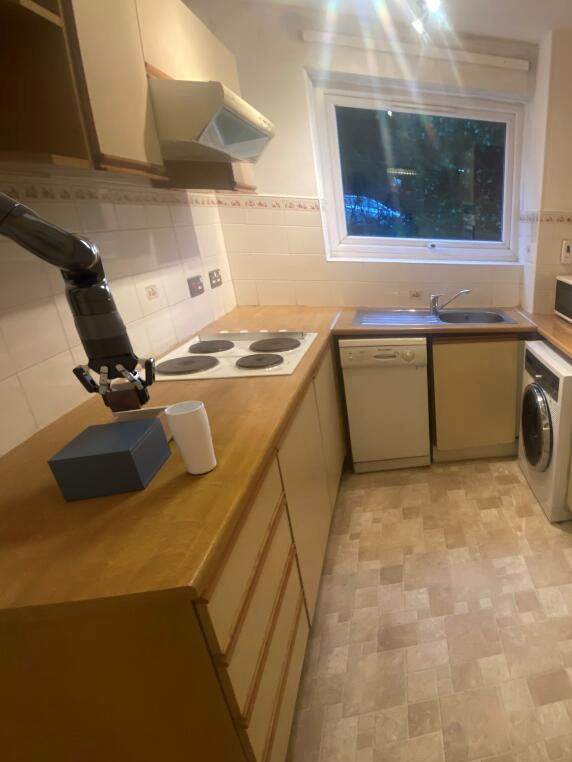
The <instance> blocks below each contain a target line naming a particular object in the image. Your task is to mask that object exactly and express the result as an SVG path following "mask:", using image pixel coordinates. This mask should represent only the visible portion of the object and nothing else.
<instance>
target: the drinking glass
mask: <svg viewBox="0 0 572 762" xmlns="http://www.w3.org/2000/svg"><path fill="white" fill-rule="evenodd" d="M171 405H172V406H170V407H168V408H166V409H165V411H164V413H165V417H166V420H167V424H168V427H169V429H170V432H171V434H172V438H173V440H174V443H175V444H176V447H177V449H178V451H179V454H180V455H181V458H182V459H183V462H184V464H185V467H186V470H187V472H188V474H191V475H203V474H206V473H209V472H211V471H212V470H214V469H215V468H216V466H217V465H218V463H217V462H218V461H217V459H216V454H215V450H214V449H215V448H214V443H213V438H212V433H211V426H210V421H209V416H208V414H207V410H206V408H205V405H204V402H202V401H200V400H187V401H181V402H177V403H174V404H171Z"/></svg>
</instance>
